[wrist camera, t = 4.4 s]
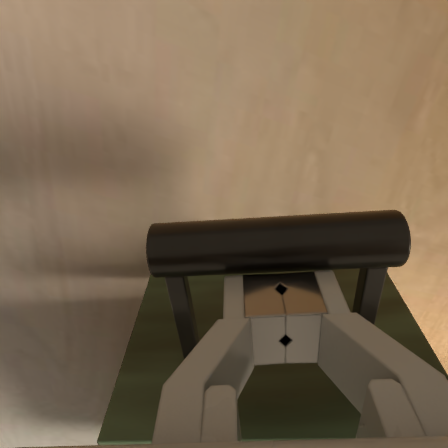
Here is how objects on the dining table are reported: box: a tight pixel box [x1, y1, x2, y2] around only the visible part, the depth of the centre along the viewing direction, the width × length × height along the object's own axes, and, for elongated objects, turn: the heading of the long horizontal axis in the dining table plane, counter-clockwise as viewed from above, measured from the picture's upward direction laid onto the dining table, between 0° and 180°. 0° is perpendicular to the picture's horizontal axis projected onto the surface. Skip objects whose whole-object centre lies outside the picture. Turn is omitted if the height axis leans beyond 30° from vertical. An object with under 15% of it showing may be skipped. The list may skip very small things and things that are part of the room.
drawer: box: [97, 210, 448, 445], centre depth 15 cm, size 19×11×8 cm, turn 5°
